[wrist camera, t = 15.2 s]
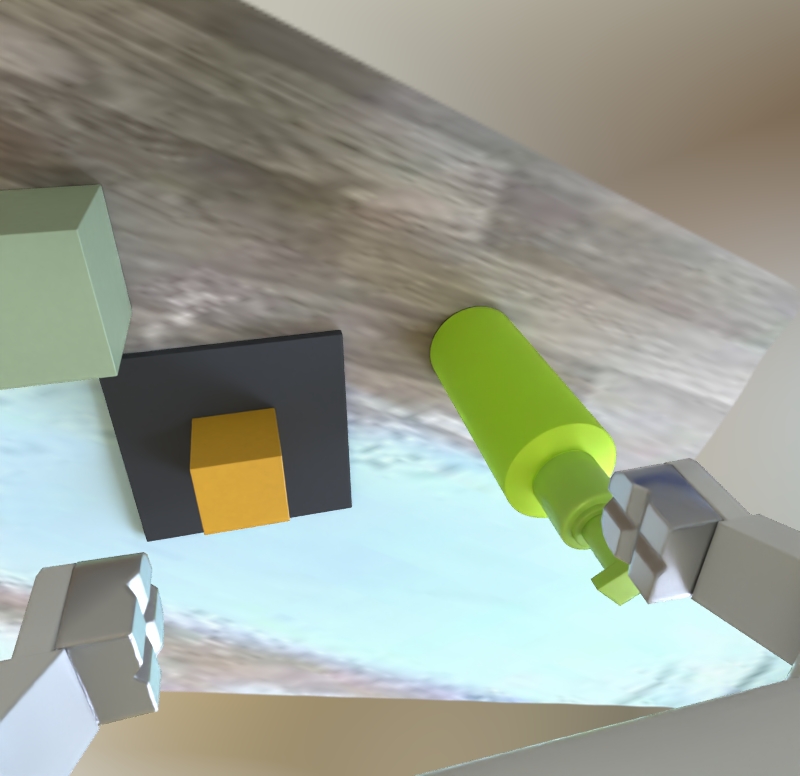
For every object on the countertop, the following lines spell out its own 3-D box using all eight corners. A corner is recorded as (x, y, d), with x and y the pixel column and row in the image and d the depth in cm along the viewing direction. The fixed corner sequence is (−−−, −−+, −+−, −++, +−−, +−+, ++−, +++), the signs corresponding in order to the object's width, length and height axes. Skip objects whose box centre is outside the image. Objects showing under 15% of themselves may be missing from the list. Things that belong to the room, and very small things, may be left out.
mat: (340, 329, 39) (342, 334, 39) (350, 502, 47) (351, 507, 46) (95, 357, 37) (94, 362, 36) (147, 535, 44) (147, 542, 44)
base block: (101, 184, 32) (77, 229, 26) (132, 312, 36) (117, 376, 30) (-57, 193, 31) (-119, 243, 25) (-7, 326, 34) (-50, 396, 29)
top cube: (274, 407, 40) (281, 455, 36) (282, 469, 43) (289, 521, 39) (191, 418, 39) (189, 469, 35) (205, 481, 42) (204, 535, 38)
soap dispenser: (543, 330, 43) (747, 548, 27) (467, 400, 45) (616, 647, 28) (491, 276, 40) (685, 485, 24) (411, 353, 42) (542, 599, 25)
